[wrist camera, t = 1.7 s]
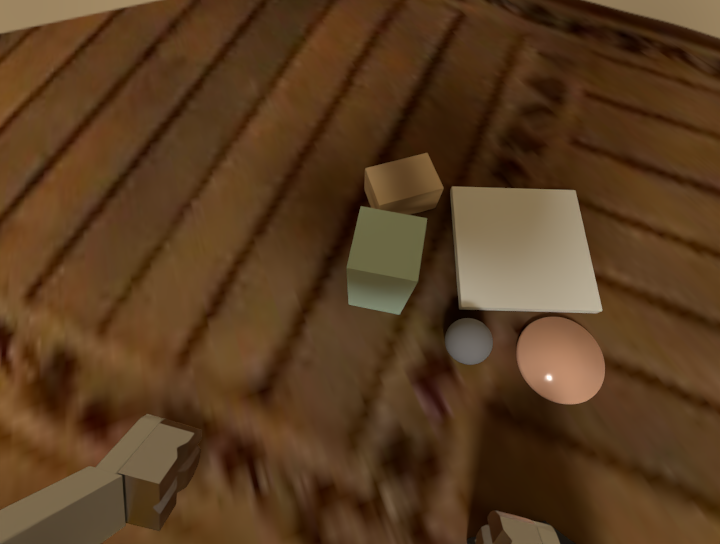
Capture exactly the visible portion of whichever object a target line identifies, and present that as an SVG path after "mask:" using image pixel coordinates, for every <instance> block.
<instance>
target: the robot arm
mask: <svg viewBox="0 0 720 544" xmlns="http://www.w3.org/2000/svg"><path fill="white" fill-rule="evenodd" d="M201 438H202V430H200V429H197V428H194V427H190V426H187V425H184V424H180V423H177V422H174V421H170V420H167V419H164V418H160V417H157V416H153V415H150V414H146V415H145V416H143V417H142V418H140V419H139V420H138V421H137V422H136V424H135V425H134V426H133V427H132V428H131V429H130V430H129V431H128V432H127V433H126V434H125V436H124V437H123V438H122V439H121V440H120V441H119V442H118V443H117V444H116V445H115V446H114V447H113V449H112V450H111V451H110V452H109V453H108V454H107V455H106V456H105V457H104V458H103V459H102V461H101V462H100V463H99V464H98V465H97V466H96V467H91V466H89V467H87V468H85V469H83V470H81V471H78V472H76V473H74V474H72V475H70V476H68V477H66V478H64V479H62V480H60V481H58V482H56V483H54V484H52V485H50V486H48V487H46V488H44V489H42V490H40V491H38V492H36V493H34V494H32V495H30V496H28V497H26V498H24V499H22V500H20V501H18V502H16V503H13V504H11V505H9V506H7V507H5V508H3V509H1V510H0V544H101V543H102V542H104V541H105V540H106V539H108V538H109V537H111V536H112V535H113V534H115V533H116V532H117V531H119V530H120V529H121V528H123V527H124V526H125V525H126V523H129V524H133V525H137V526H141V527H145V528H149V529H153V530H157V531H160V530H161V528H162V526H163V525H164V523H165V521H166V520H167V518H168V517H169V515H170V513H171V512H172V510H173V508H174V507H175V505H176V497H177V493H178V492H179V491H181V490H182V489H184V488H186V487H187V485H188V484H189V482H190V480H191V479H192V477H193V475H194V473H195V470H196V468H197V466H198V463H199V459H200V453H201V449H200V448H199V446H198V443H199V442H200V440H201ZM487 519H488V525H485V526H483V527H481V528H480V530H479V532H478V533H477V535H476V542H475V544H560V542H559V539H558V537H557V534H556V532H555V530H554V529H553V527H552V526H550V525H548V524H544V523H540V522H536V521H532V520H530V519H528V518H524V517H520V516H516V515H512V514H508V513H504V512H500V511H497V510H494V511H491V512H490V514H489V515H488V517H487Z"/></svg>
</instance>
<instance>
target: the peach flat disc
mask: <svg viewBox="0 0 720 544" xmlns="http://www.w3.org/2000/svg"><path fill="white" fill-rule="evenodd" d="M516 358H517V363H518V367H519V370H520V372H521V374H522V376H523V378H524V379H525V381H526V382H527V383H528V385H529V386H530V387H531V388H532V389H533V390H534V391H535V392H536V393H538V394H539V395H541V396H542V397H544V398H546V399H547V400H550V401H552V402H555V403H560V404H578V403H582V402H585V401H587V400H589V399H590V398H592V397H593V396H594V395H595V394H596V393H597V392H598V390H599V389H600V387H601V385H602V383H603V380H604V375H605V364H604V358H603V355H602V352H601V350H600V347H599V346H598V344H597V342H596V341H595V339H594V338H593V337H592V336H591V334H590V333H589V332H588V331H587V330H586V329H584V328H583V327H582V326H580V325H579V324H577V323H575V322H573V321H571V320H569V319H566V318H562V317H544V318H541V319H538V320H536V321H534V322H532V323H531V324H529V325H528V326H527V327H526V328H525V329H524V330H523V331H522V333H521V335H520V336H519V339H518V342H517V347H516Z"/></svg>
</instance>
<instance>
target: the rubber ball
mask: <svg viewBox="0 0 720 544" xmlns="http://www.w3.org/2000/svg"><path fill="white" fill-rule="evenodd" d="M445 345H446V348H447V350H448V352H449V354H450V355H451V356H452V357H453V358H454V359H455V360H457V361H458V362H461V363H463V364H469V365H470V364H477V363H480V362H482V361H483V360H485V359H486V358H487V357H488V356H489V354H490V352H491V350H492V346H493V339H492V335H491V333H490V331H489V329H488V328H487V327H486V326H485V325H484V324H483V323H482V322H480V321H478V320H476V319H472V318H463V319H459V320H457V321H455V322H454V323H452V324H451V325H450V327H449V328H448V330H447V332H446V335H445Z"/></svg>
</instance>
